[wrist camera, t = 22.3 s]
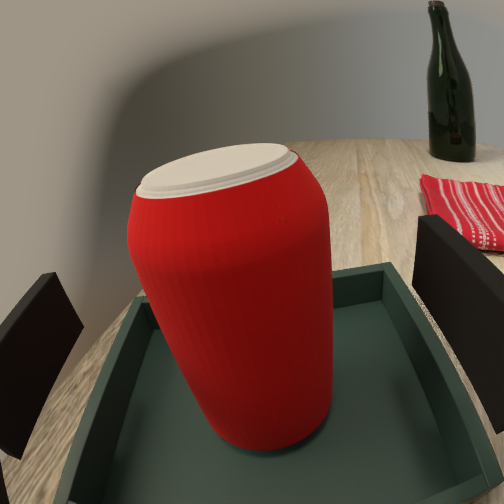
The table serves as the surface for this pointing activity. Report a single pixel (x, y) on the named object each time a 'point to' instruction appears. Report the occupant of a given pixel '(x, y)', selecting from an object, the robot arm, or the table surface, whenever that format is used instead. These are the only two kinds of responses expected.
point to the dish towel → (468, 209)
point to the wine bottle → (449, 93)
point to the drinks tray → (308, 449)
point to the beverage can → (241, 287)
